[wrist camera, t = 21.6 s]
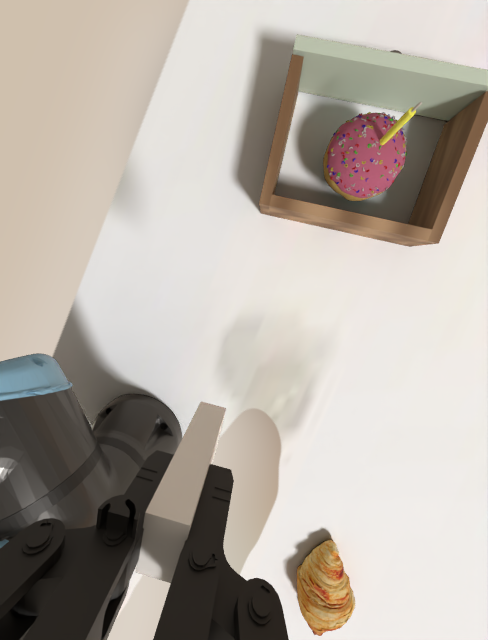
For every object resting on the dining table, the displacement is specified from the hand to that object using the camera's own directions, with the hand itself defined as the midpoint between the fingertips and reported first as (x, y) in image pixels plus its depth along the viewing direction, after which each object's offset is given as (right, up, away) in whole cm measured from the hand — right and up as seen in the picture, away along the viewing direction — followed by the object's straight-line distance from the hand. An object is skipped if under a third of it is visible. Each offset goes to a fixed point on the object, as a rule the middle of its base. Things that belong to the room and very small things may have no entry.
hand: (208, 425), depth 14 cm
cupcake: (+16, +25, +18) cm, 35 cm away
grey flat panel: (+18, +33, +15) cm, 41 cm away
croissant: (+17, -43, +34) cm, 57 cm away
